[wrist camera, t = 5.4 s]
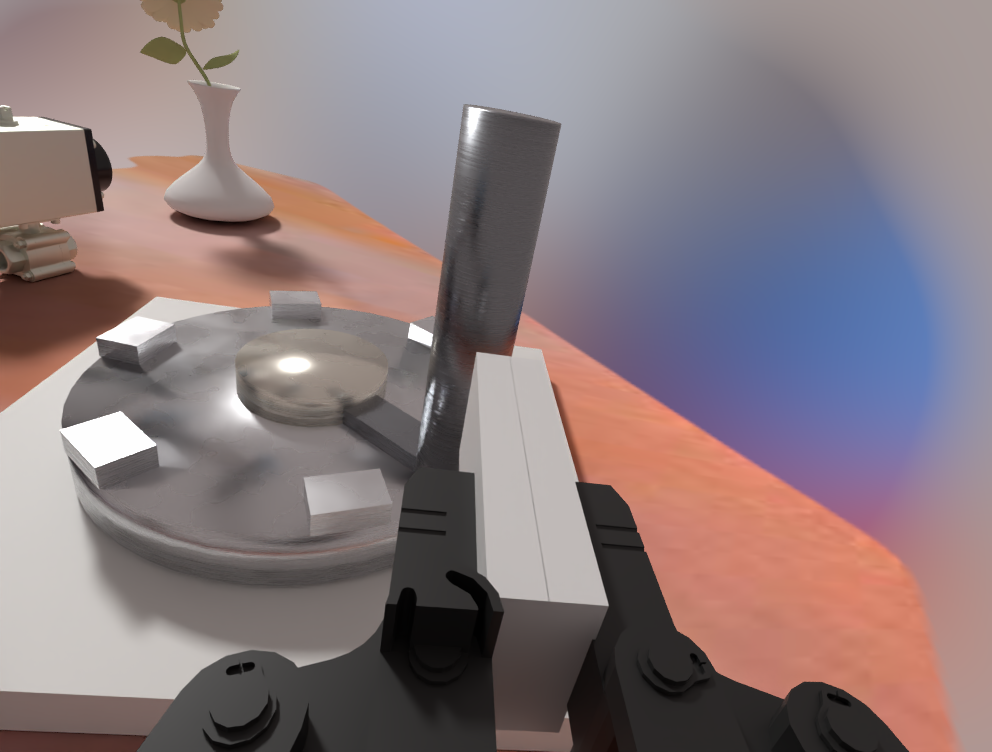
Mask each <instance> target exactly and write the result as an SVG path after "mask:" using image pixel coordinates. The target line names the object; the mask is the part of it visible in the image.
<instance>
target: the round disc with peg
mask: <svg viewBox="0 0 992 752" xmlns="http://www.w3.org/2000/svg"><path fill="white" fill-rule="evenodd" d="M560 128H561V123H558V122H555V121H551V120H548V119H543V118H540V117H535V116H531V115H526V114H521V113H517V112H511V111H506V110H501V109H495V108H489V107H483V106H477V105H467V104H465V105H464V107H463V114H462V122H461V129H460V137H459V144H458V151H457V159H456V166H455V173H454V181H453V188H452V196H451V203H450V211H449V218H448V226H447V233H446V240H445V249H444V256H443V263H442V270H441V278H440V285H439V293H438V300H437V307H436V315H435V317H433V316H431V317H428V318H424V319H421V320H418V321H415V322H411V323H407V322H403V321H400V320H396V319H393V318H389V317H385V316H380V315H376V314H371V313H365V312H359V311H353V310H346V309H338V308H329V307H321V302H320V299H319V296H318V294H317V292H316V291H270V306H267V307H254V308H242V309H235V310H228V311H220V312H215V313H210V314H205V315H200V316H195V317H192V318H188V319H184V320H180V321H176V322H173V323H167V322H162V321H157V320H153V319H148V318H143V317H139V316H136V317H135V318H133V319H131V320H129V321H127V322H125V323H123V324H121V325H119V326H117V327H115V328H113V329H112V330H110V331H108V332H106V333H104V334H102V335H100V336H98V337H96V340H97V346H98V351H99V356H100V357H101V358H99V359H98V360H97V361H96V362H95V363H93V364H92V365H91V366H90V367H89V368H88V369H87V370H86V371H85V372H84V373H83V374H82V375H81V376H80V378H79V379H78V380H77V382H76V383H75V384H74V386H73V387H72V388H71V390H70V392H69V395H68V397H67V399H66V401H65V403H64V407H63V413H62V420H61V425H62V430H60V433H61V437H62V441H63V446H64V450H65V453H66V454H67V456H68V460H69V465H70V469H71V473H72V477H73V481H74V486H75V490H76V492H77V495H78V497H79V499H80V501H81V504H82V506H83V508H84V510H85V511H86V513H87V514H88V515H89V516H90V518H91V519H92V520H93V521H94V523H95V524H96V525H97V526H98V528H99V529H101V530H102V531H103V532H104V533H105V534H107V535H108V536H109V537H110V538H111V539H113V540H114V541H115V542H116V543H117V544H119V545H120V546H122V547H124V548H125V549H127V550H129V551H131V552H133V553H134V554H136V555H138V556H140V557H141V558H143V559H145V560H147V561H150V562H152V563H155V564H158V565H160V566H163V567H165V568H168V569H171V570H173V571H176V572H180V573H184V574H188V575H192V576H196V577H200V578H204V579H208V580H213V581H221V582H229V583H236V584H244V585H269V586H291V585H304V584H317V583H326V582H332V581H338V580H343V579H349V578H354V577H360V576H363V575H367V574H370V573H374V572H377V571H381V570H384V569H388V568H391V567H393V562H394V555H395V548H396V541H397V534H398V527H399V520H400V513H401V506H402V499H403V492H404V485H405V484H406V483H407V481H408V480H409V479H410V478H411V476H412V475H413V474H414V473H415V471H416V470H417V469H418V468H419V467H423V468H432V469H442V470H451V471H459V450H460V444H461V438H462V432H463V427H464V421H465V415H466V409H467V404H468V398H469V392H470V387H471V381H472V375H473V369H474V364H475V358H476V352H481V353H488V354H496V355H503V356H511V357H512V353H513V349H514V344H515V339H516V334H517V330H518V325H519V320H520V316H521V311H522V306H523V301H524V297H525V292H526V287H527V283H528V278H529V273H530V269H531V264H532V259H533V254H534V250H535V245H536V241H537V236H538V231H539V226H540V221H541V217H542V212H543V208H544V203H545V198H546V194H547V189H548V184H549V179H550V175H551V170H552V165H553V160H554V156H555V151H556V146H557V142H558V137H559V132H560Z"/></svg>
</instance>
